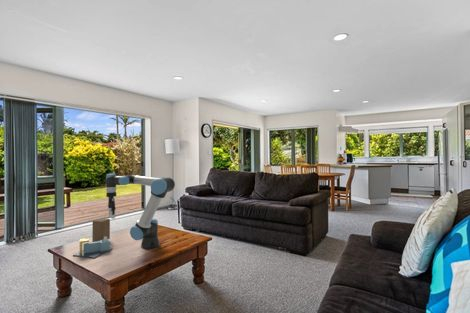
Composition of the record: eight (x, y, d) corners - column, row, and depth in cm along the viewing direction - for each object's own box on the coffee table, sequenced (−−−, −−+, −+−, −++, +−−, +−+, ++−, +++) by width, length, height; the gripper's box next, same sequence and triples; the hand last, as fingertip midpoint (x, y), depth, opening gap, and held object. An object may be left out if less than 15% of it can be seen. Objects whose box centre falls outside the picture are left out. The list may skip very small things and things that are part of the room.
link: (109, 247, 206) (109, 238, 206) (110, 249, 200) (110, 241, 200) (83, 251, 196) (83, 242, 196) (83, 254, 190) (83, 245, 190)
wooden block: (101, 244, 215) (102, 221, 215) (92, 243, 217) (92, 220, 217) (109, 240, 225) (110, 218, 225) (100, 239, 227) (100, 218, 227)
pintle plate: (112, 249, 205) (112, 235, 205) (94, 258, 186) (94, 243, 186) (92, 246, 209) (92, 233, 209) (72, 256, 190) (73, 241, 190)
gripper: (104, 190, 216) (104, 215, 216) (108, 193, 196) (109, 220, 195) (113, 190, 220) (114, 213, 220) (119, 192, 200) (119, 219, 200)
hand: (111, 217), depth 208 cm, fingers open, 13 cm apart
